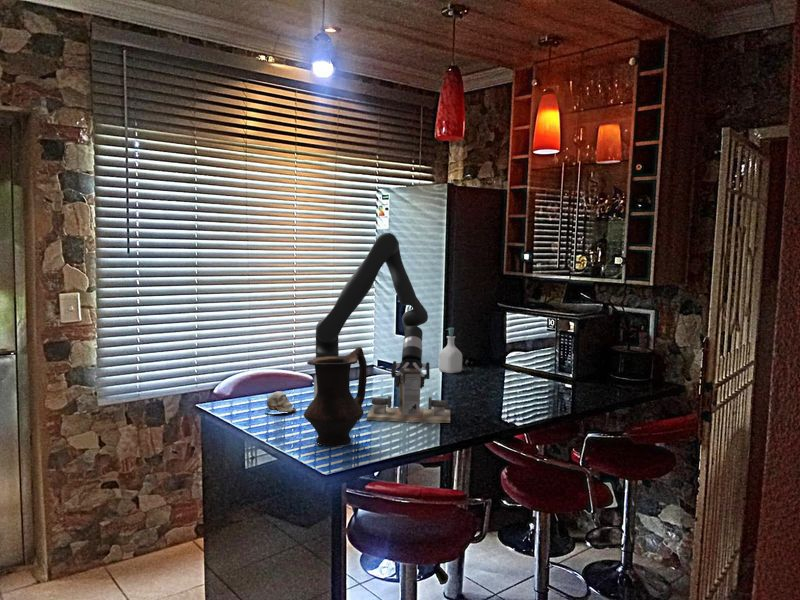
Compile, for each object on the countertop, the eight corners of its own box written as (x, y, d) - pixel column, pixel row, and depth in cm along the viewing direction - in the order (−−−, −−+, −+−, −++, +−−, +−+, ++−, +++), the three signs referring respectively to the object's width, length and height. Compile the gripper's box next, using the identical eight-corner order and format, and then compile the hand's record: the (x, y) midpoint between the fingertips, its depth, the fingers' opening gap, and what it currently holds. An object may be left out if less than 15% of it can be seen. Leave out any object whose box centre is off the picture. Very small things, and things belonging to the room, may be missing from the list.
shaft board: (366, 420, 223) (366, 399, 222) (371, 410, 237) (371, 390, 236) (450, 424, 220) (450, 402, 220) (450, 413, 234) (450, 393, 233)
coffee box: (398, 409, 232) (399, 367, 231) (414, 409, 233) (416, 367, 232) (402, 416, 223) (403, 371, 222) (419, 415, 224) (421, 371, 223)
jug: (321, 456, 183) (322, 356, 180) (293, 440, 198) (293, 347, 195) (380, 444, 195) (382, 350, 193) (350, 430, 210) (351, 342, 208)
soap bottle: (450, 369, 324) (451, 326, 322) (463, 372, 316) (464, 328, 315) (436, 371, 318) (438, 327, 316) (450, 374, 310) (451, 329, 309)
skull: (304, 407, 236) (293, 391, 229) (291, 429, 230) (279, 414, 223) (279, 402, 242) (268, 386, 235) (266, 424, 236) (254, 408, 229)
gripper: (393, 344, 235) (389, 380, 224) (430, 345, 233) (428, 382, 223) (394, 356, 240) (390, 391, 230) (431, 357, 239) (429, 393, 229)
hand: (409, 386), depth 226 cm, fingers open, 8 cm apart
